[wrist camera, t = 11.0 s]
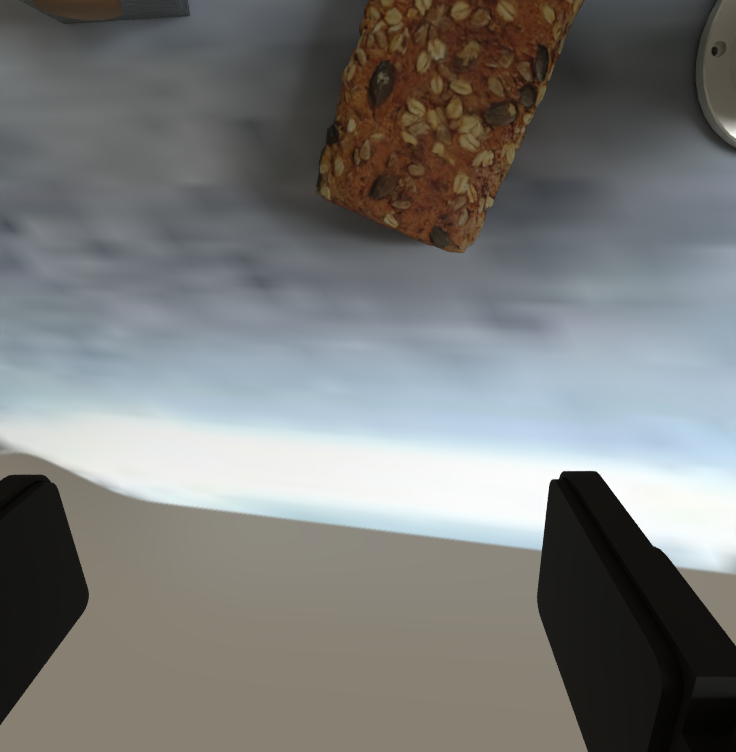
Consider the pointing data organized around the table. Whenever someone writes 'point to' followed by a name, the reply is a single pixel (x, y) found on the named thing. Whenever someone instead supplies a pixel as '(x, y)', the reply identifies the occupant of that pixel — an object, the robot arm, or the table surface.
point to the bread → (438, 110)
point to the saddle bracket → (134, 10)
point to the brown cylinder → (82, 8)
